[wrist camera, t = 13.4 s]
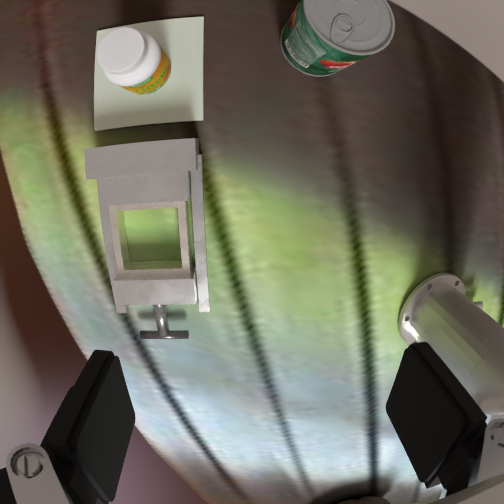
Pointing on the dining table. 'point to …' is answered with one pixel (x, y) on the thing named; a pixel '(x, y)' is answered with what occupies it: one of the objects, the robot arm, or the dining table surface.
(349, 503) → the gourd
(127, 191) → the vise
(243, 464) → the dining table surface
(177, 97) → the pad
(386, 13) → the canned tomato
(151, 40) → the supplement bottle
